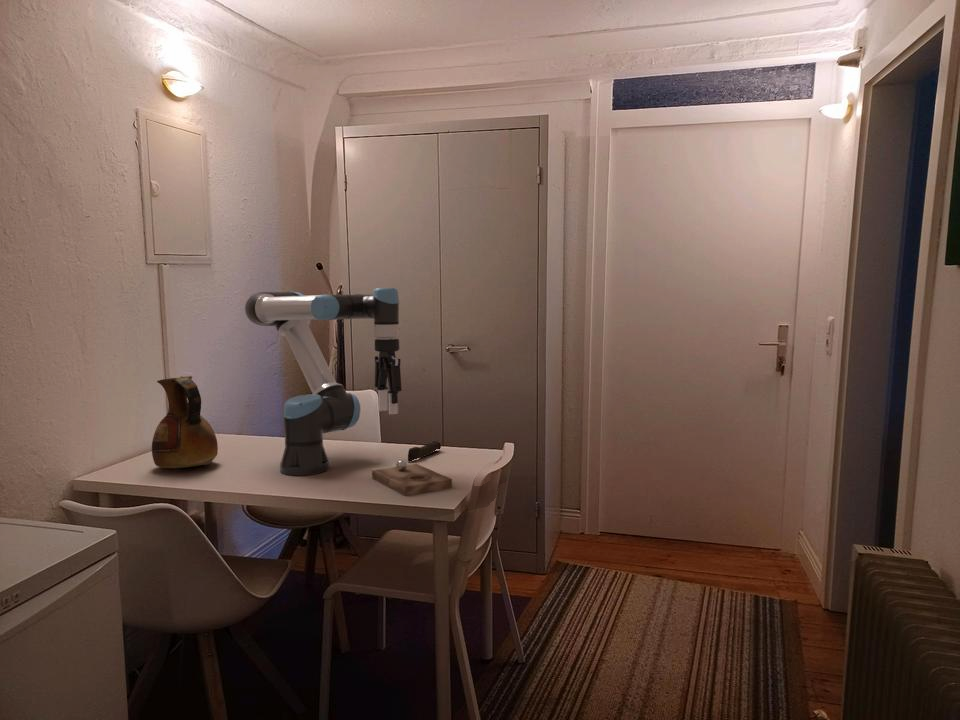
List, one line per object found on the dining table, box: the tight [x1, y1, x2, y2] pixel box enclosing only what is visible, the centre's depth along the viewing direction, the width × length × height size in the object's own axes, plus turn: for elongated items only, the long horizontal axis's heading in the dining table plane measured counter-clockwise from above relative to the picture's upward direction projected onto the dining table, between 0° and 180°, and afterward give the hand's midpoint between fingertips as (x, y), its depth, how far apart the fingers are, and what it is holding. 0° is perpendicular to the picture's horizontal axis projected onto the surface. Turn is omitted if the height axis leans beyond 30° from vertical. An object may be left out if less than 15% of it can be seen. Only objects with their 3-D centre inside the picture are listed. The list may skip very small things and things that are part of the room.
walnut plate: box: [371, 463, 453, 497], centre depth 205 cm, size 15×22×2 cm
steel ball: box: [396, 459, 408, 471], centre depth 209 cm, size 3×3×3 cm
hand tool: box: [407, 440, 442, 462], centre depth 239 cm, size 19×4×5 cm, turn 152°
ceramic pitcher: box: [151, 375, 219, 469], centre depth 224 cm, size 20×20×30 cm
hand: (388, 412), depth 216 cm, fingers open, 7 cm apart
